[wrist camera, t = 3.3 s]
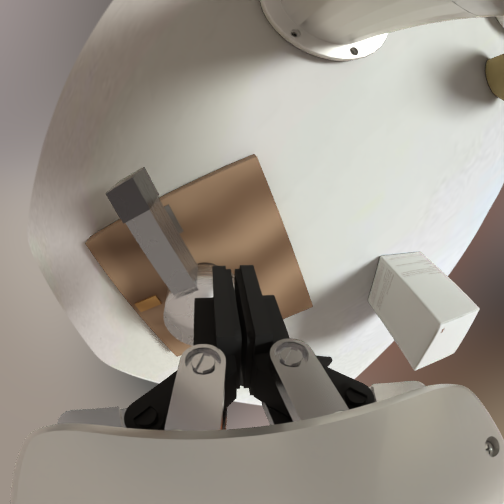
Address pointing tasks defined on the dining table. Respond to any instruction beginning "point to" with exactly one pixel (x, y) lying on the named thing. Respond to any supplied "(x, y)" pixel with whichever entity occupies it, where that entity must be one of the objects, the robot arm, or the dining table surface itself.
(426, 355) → the supplement box
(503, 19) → the ramekin
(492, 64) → the squeeze bottle
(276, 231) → the post base
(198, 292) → the square-handled spoon
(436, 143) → the dining table surface
